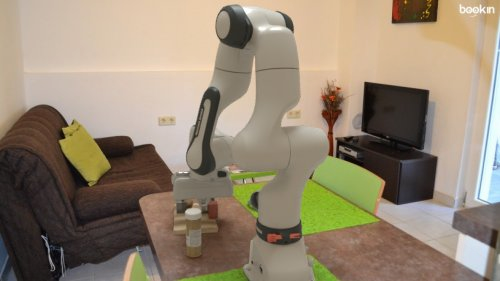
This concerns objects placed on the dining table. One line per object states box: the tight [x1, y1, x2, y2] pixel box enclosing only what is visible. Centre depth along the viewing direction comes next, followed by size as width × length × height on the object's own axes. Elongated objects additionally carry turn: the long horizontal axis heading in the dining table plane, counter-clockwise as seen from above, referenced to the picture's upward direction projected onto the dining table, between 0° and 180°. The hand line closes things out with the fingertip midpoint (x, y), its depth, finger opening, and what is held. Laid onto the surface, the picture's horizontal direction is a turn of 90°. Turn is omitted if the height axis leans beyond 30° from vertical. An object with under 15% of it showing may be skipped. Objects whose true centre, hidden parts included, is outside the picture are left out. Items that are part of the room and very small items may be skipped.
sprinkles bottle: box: [185, 208, 203, 258], centre depth 113 cm, size 5×5×13 cm
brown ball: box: [183, 199, 194, 208], centre depth 142 cm, size 4×4×4 cm
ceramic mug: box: [247, 188, 261, 212], centre depth 149 cm, size 11×8×8 cm
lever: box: [201, 198, 219, 219], centre depth 141 cm, size 16×6×5 cm, turn 10°
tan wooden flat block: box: [173, 200, 219, 236], centre depth 138 cm, size 23×15×6 cm, turn 10°
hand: (203, 210), depth 135 cm, fingers closed
